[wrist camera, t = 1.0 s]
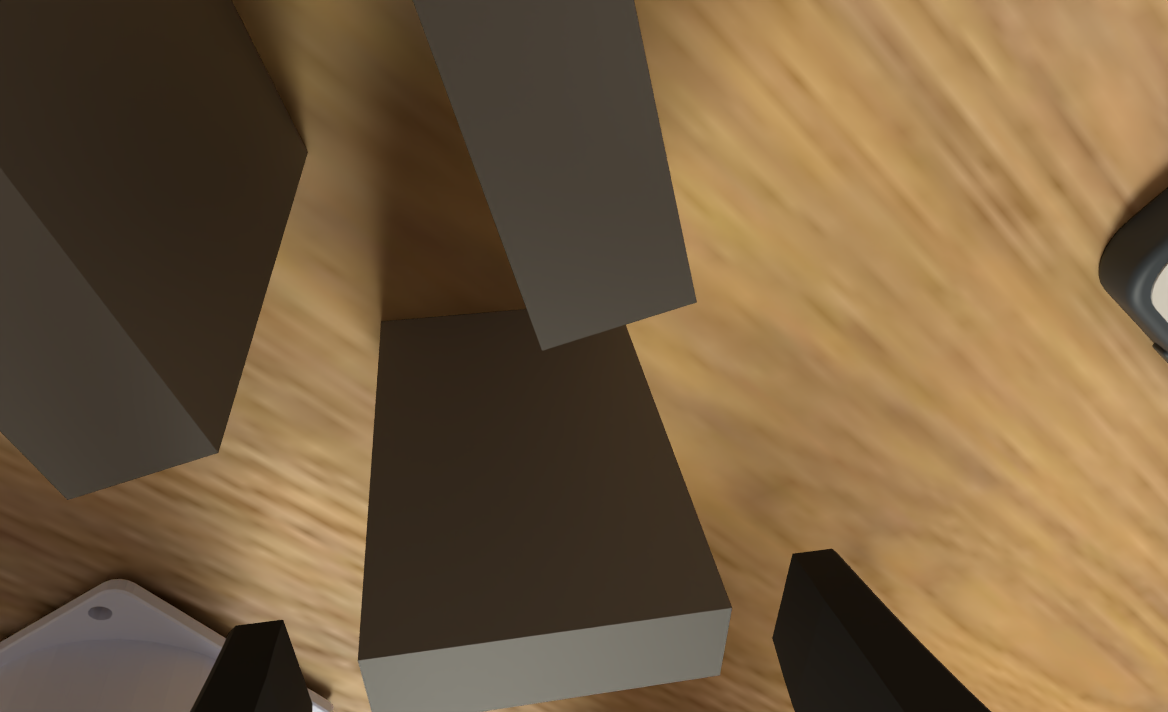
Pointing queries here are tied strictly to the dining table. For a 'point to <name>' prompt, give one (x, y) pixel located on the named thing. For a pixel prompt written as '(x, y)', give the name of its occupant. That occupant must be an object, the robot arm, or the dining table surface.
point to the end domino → (526, 524)
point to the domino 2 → (566, 156)
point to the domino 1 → (132, 229)
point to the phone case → (1141, 270)
